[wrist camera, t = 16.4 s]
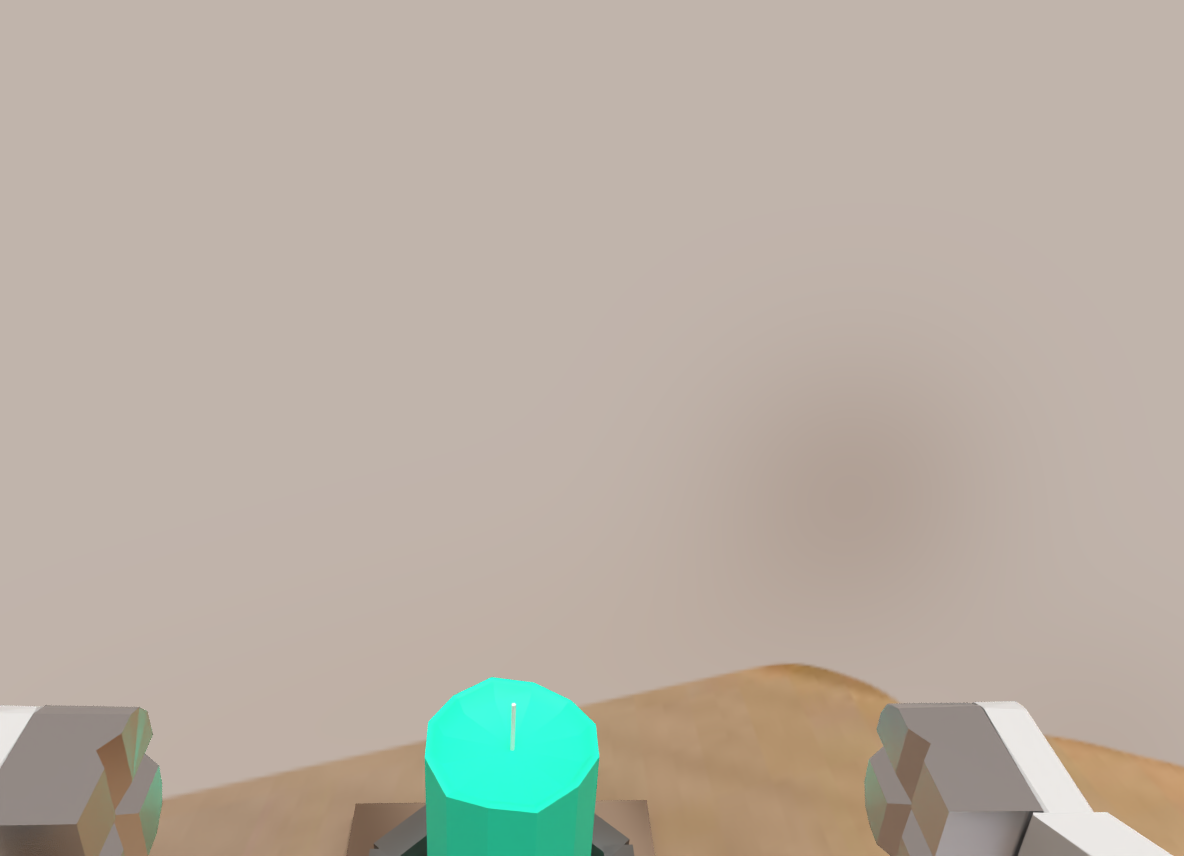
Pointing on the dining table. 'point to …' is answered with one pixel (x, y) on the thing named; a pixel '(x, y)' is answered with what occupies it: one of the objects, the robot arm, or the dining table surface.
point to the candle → (510, 773)
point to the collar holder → (399, 831)
